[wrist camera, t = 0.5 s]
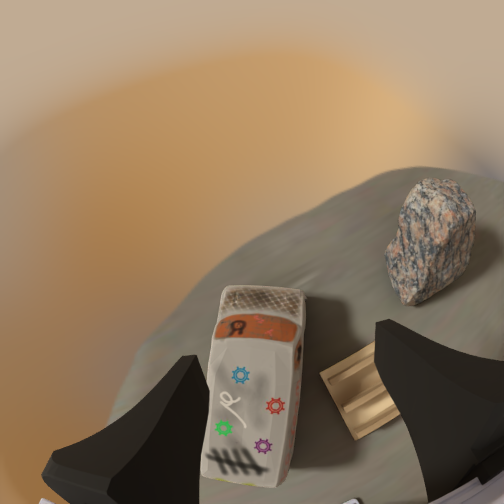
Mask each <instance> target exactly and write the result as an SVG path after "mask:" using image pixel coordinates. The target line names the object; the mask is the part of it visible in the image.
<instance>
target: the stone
mask: <svg viewBox="0 0 504 504" xmlns="http://www.w3.org/2000/svg"><path fill="white" fill-rule="evenodd" d="M475 221H476V211H475V208H474V205H473V203H472V201H471V200H470V198H469V196H468V195H467V194H466V193H465V191H464V190H463V189H462V188H461V186H460V185H459V184H458V183H456V182H455V181H453V180H451V179H447V180H439V179H436V178H427V179H423V180H420V181H419V182H418V183H417V184H416V186H415V187H413V188H412V190H411V191H410V193H409V194H408V196H407V198H406V200H405V203H404V204H403V206H402V208H401V211H400V215H399V220H398V223H399V225H398V231H397V235H396V237H395V238H394V239H393V240H392V241H391V243H390V244H389V245H388V247H387V249H386V251H385V254H384V256H385V259H386V264H387V269H388V274H389V277H390V279H391V282H392V286H393V288H394V290H395V292H396V294H397V295H398V296H399V298H400V300H401V302H402V304H404V305H405V306H414V305H416V304H418V303H421V302H422V301H423V300H425V299H428V298H429V297H431V296H432V295H433V294H434V293H436V292H438V291H440V290H442V289H443V288H445V287H446V286H447V285H449V284H450V283H452V282H454V281H455V280H457V279H458V278H459V277H460V276H462V275H463V273H464V271H465V269H466V267H467V266H468V265H469V259H470V256H471V248H472V247H473V242H474V238H475V233H474V231H475Z"/></svg>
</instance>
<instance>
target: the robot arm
mask: <svg viewBox="0 0 504 504" xmlns="http://www.w3.org/2000/svg"><path fill="white" fill-rule="evenodd" d="M374 363H375V366H376V368H377V371H378V373H379V376H380V378H381V381H382V382H383V384H384V386H385V388H386V390H387V391H388V393H389V395H390V397H391V398H392V400H393V402H394V403H395V405H396V407H397V409H398V411H399V412H400V414H401V416H402V418H403V420H404V422H405V424H406V426H407V428H408V431H409V433H410V436H411V439H412V441H413V444H414V447H415V450H416V453H417V456H418V459H419V463H420V466H421V470H422V474H423V478H424V482H425V487H426V492H427V497H428V504H504V361H498V360H491V359H486V358H481V357H477V356H473V355H469V354H466V353H463V352H459V351H456V350H454V349H451V348H448V347H446V346H444V345H441V344H439V343H436V342H434V341H432V340H430V339H428V338H426V337H424V336H422V335H420V334H418V333H416V332H414V331H412V330H410V329H408V328H406V327H405V326H403V325H401V324H399V323H397V322H395V321H393V320H390V319H387V320H383V321H379V322H376V329H375V350H374ZM209 403H210V390H209V387H208V385H207V382H206V380H205V377H204V374H203V372H202V369H201V366H200V363H199V361H198V358H197V355H189V356H182V357H181V358H180V359H179V360H178V361H177V362H176V363H175V365H174V366H173V367H172V368H171V369H170V370H169V371H168V373H167V374H166V375H165V376H164V377H163V378H162V379H161V380H160V382H159V383H158V384H157V385H156V386H155V387H154V388H153V389H152V390H151V391H150V392H149V393H148V394H147V395H146V396H145V397H144V398H143V399H142V400H141V401H140V402H139V403H138V404H137V405H136V406H134V407H133V408H132V409H131V410H130V411H128V412H127V413H126V414H125V415H123V416H122V417H121V418H119V419H118V420H117V421H115V422H113V423H112V424H110V425H109V426H107V427H106V428H104V429H103V430H101V431H100V432H98V433H96V434H94V435H92V436H90V437H88V438H86V439H84V440H82V441H80V442H77V443H75V444H72V445H70V446H67V447H64V448H62V449H59V450H56V451H54V452H53V453H52V455H51V457H50V459H49V461H48V463H47V465H46V467H45V469H44V471H43V472H42V474H41V475H42V478H43V480H44V482H45V483H46V484H47V485H48V486H49V487H50V488H51V489H52V490H54V491H55V492H56V493H57V494H58V495H60V496H61V497H62V498H63V499H65V500H66V501H67V502H68V503H70V504H199V479H200V461H201V454H202V448H203V443H204V437H205V432H206V426H207V421H208V415H209ZM354 503H356V504H359V502H358V500H357V499H351V500H349V501H347V502H345V503H343V504H354ZM39 504H55V503H53V502H51V501H49V500H46V499H44V498H42V499H41V501H40V503H39Z"/></svg>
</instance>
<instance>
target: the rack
mask: <svg viewBox="0 0 504 504" xmlns="http://www.w3.org/2000/svg"><path fill="white" fill-rule="evenodd" d="M374 350H375V341H373V342H372V343H370V344H369V345H367V346H365V347H364V348H362V349H360V350H359V351H357V352H355V353H354V354H352V355H350V356H349V357H347V358H345V359H344V360H342V361H340V362H338V363H336V364H335V365H333V366H331V367H329V368H327V369H326V370H324V371H322V372H320V375H321V377H322V379H323V381H324V383H325V385H326V387H327V389H328V390H329V392H330V394H331V396H332V398H333V400H334V402H335V404H336V406H337V408H338V410H339V411H340V413H341V415H342V417H343V419H344V421H345V423H346V425H347V427H348V429H349V431H350V432H351V434H352V436H353V438H354V440H355V441H356V440H357V439H359V438H361V437H363V436H365V435H367V434H368V433H370V432H372V431H374V430H375V429H377V428H379V427H380V426H382V425H384V424H385V423H387V422H388V421H390V420H392V419H393V418H395V417H396V416H398V415H399V414H400V412H399V411H398V409H397V407H396V405H395V403H394V402H393V400H392V398H391V397H390V395H389V393H388V391H387V390H386V388H385V386H384V384H383V382H382V381H381V378H380V376H379V373H378V371H377V368H376V366H375V363H374Z"/></svg>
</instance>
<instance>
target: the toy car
mask: <svg viewBox="0 0 504 504" xmlns="http://www.w3.org/2000/svg"><path fill="white" fill-rule="evenodd" d="M306 300H307V298H306V295H305V294H304V291H302V290H300V289H291V288H282V287H270V286H250V285H235V286H227V287H225V289H224V291H223V293H222V296H221V302H220V308H219V314H218V320H217V324H216V326H215V329H214V332H213V336H212V346H211V352H210V358H209V364H208V373H207V385H208V387H209V390H210V403H209V415H208V421H207V426H206V432H205V437H204V443H203V448H202V454H201V473H202V476H204V477H207V478H211V479H216V480H221V481H226V482H232V483H238V484H245V485H251V486H258V487H268V488H275V487H278V486H279V485H281V484H282V483H283V482H284V481H285V480H286V477H287V475H288V471H289V466H290V462H291V458H292V455H293V449H294V442H295V433H296V425H297V418H298V410H299V402H300V391H301V379H302V363H303V342H304V330H305V325H306V305H305V301H306Z"/></svg>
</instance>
